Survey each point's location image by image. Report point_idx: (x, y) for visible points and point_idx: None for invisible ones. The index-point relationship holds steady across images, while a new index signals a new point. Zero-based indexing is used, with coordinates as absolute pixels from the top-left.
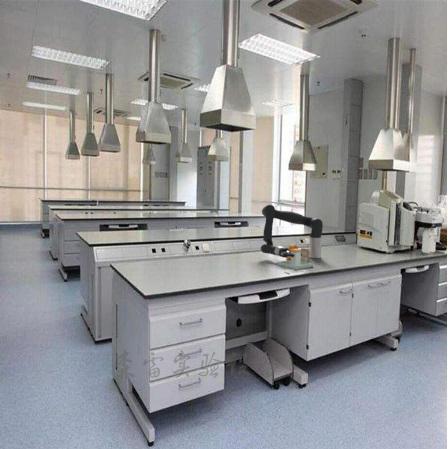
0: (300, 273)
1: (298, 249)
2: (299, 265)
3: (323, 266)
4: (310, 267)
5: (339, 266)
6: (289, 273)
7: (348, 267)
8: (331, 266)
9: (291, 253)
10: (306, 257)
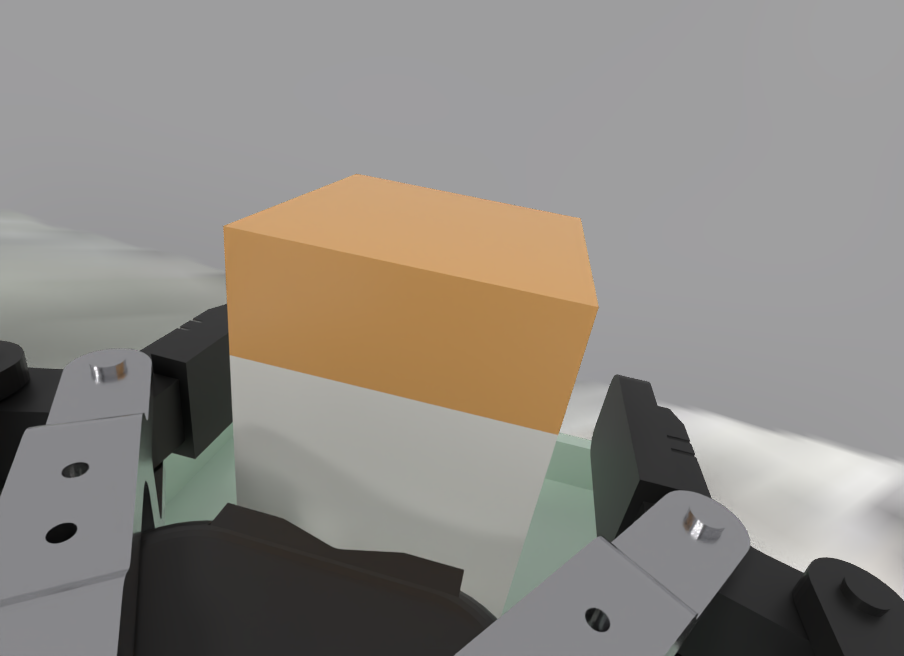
0: (717, 422)
1: (391, 194)
2: (572, 445)
3: (109, 344)
4: None
5: (45, 264)
6: (877, 503)
7: (83, 234)
8: (73, 299)
9: (540, 474)
10: None
